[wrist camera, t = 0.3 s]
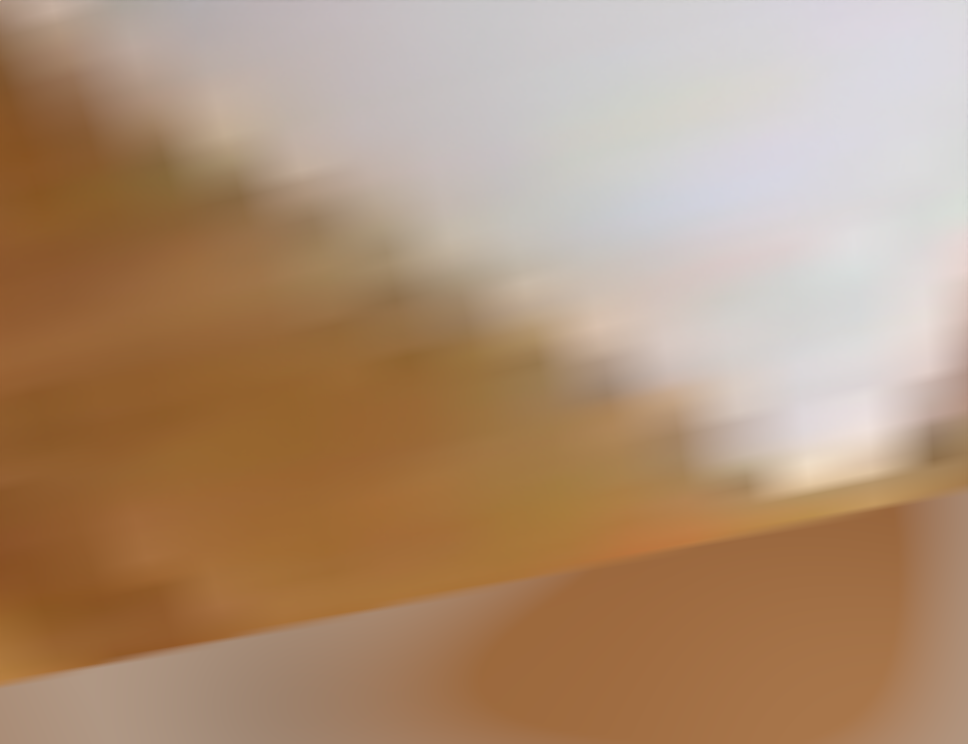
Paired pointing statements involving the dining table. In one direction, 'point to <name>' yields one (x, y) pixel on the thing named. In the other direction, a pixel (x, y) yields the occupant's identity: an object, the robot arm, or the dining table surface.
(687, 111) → the dining table surface
